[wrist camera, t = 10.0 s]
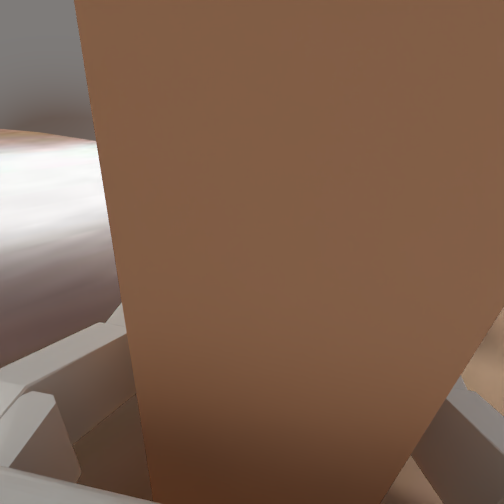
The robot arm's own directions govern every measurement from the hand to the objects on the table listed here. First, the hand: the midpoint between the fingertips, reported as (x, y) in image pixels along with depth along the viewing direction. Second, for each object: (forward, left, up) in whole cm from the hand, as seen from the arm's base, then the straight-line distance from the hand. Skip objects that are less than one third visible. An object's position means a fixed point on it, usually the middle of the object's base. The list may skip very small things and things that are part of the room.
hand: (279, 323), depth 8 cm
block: (+1, 0, -8) cm, 8 cm away
